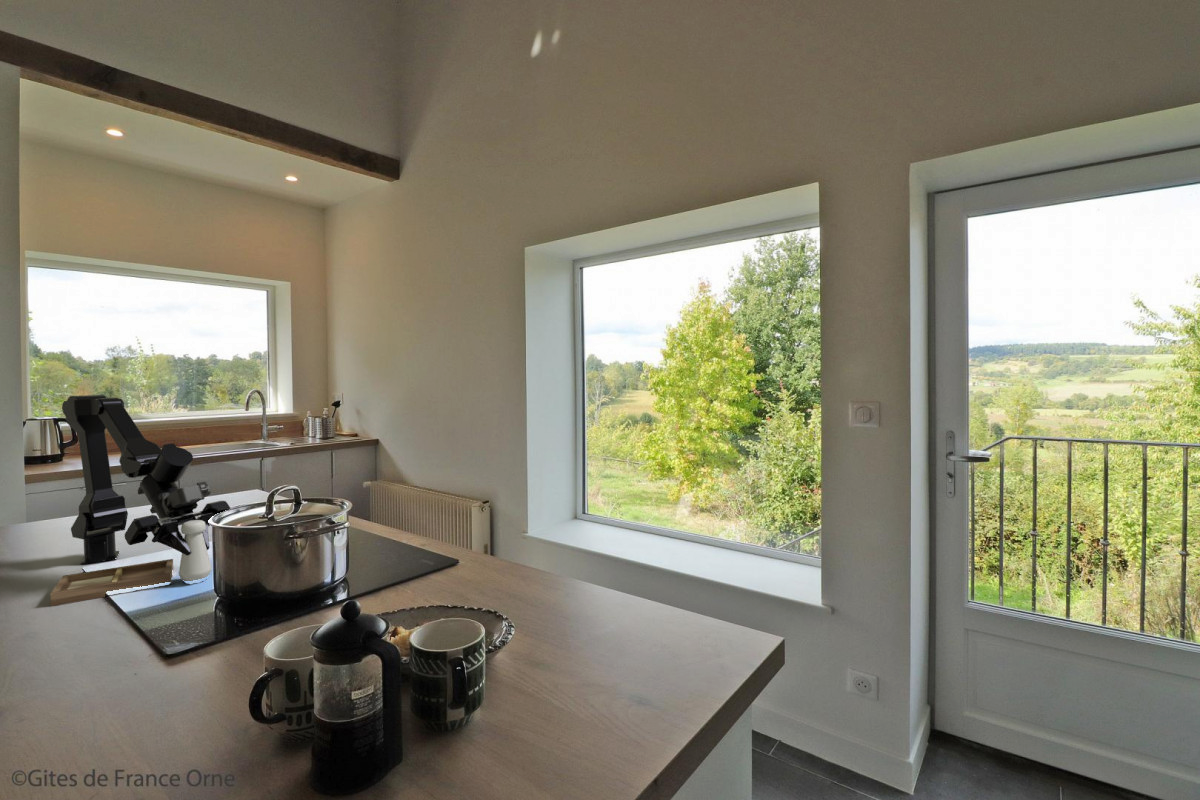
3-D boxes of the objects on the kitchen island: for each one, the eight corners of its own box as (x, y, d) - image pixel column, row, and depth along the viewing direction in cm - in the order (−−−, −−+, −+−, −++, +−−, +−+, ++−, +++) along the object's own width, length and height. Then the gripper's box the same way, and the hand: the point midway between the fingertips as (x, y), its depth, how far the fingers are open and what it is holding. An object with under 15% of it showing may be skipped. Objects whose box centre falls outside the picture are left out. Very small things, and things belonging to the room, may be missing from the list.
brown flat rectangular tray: (63, 586, 119) (63, 575, 119) (173, 569, 129) (172, 558, 129) (51, 606, 109) (50, 594, 109) (170, 585, 120) (170, 574, 119)
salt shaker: (218, 576, 125) (216, 518, 124) (197, 586, 119) (195, 525, 118) (194, 575, 125) (191, 517, 124) (172, 585, 119) (169, 524, 119)
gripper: (129, 479, 114) (165, 540, 110) (223, 465, 131) (257, 517, 127) (109, 514, 117) (143, 574, 114) (203, 496, 134) (235, 547, 131)
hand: (198, 551), depth 121 cm, fingers closed on salt shaker, 3 cm apart
